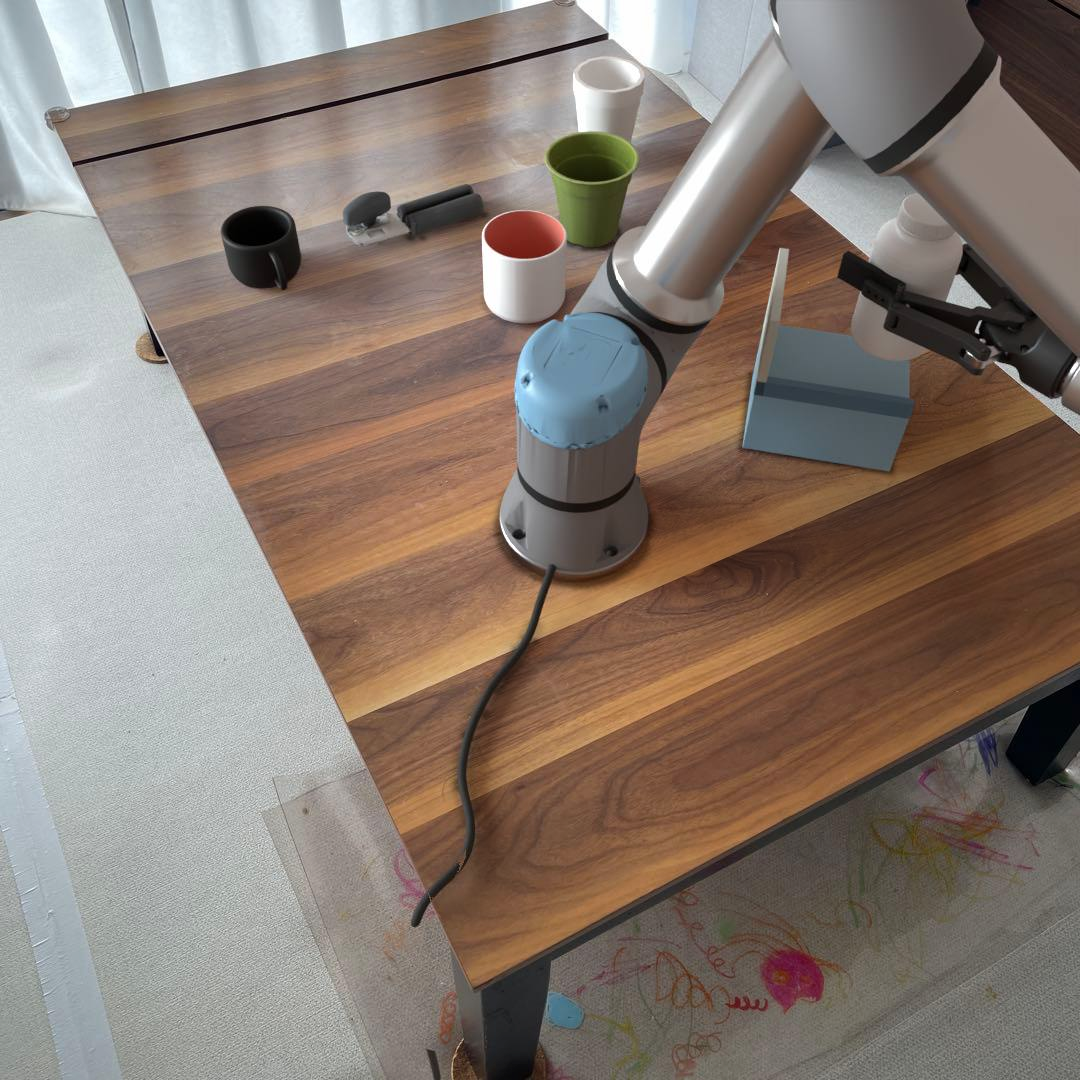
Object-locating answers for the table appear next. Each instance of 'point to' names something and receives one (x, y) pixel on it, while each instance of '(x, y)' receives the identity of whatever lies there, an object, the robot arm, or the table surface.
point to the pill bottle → (908, 273)
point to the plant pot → (591, 183)
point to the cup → (524, 265)
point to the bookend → (824, 394)
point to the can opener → (408, 214)
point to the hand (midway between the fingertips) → (870, 245)
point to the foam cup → (608, 95)
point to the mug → (262, 246)
